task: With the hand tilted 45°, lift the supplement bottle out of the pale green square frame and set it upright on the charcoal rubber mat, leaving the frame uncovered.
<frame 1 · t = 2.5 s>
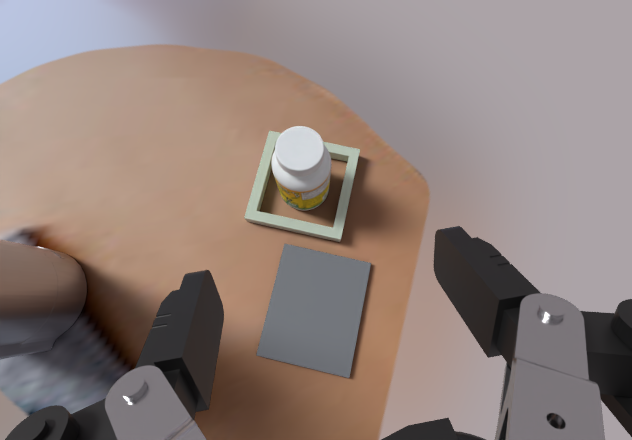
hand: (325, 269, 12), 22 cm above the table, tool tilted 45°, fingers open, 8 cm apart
supplement bottle: (304, 188, 37), resting in pale green square frame
pale green square frame: (304, 187, 36), on the table
mat: (315, 307, 33), on the table
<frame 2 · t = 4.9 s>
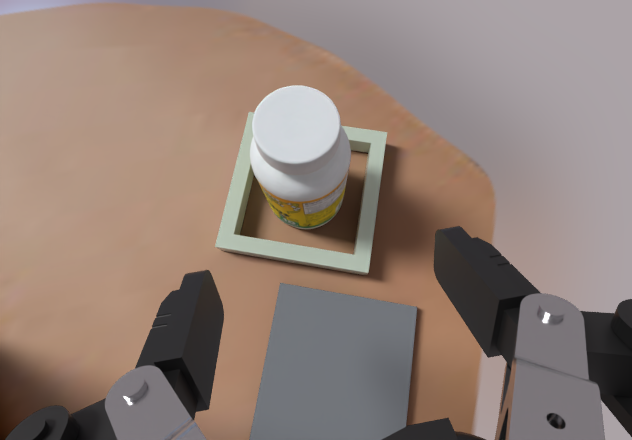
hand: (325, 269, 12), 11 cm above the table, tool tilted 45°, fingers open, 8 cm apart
supplement bottle: (305, 195, 24), resting in pale green square frame
pale green square frame: (305, 194, 24), on the table
mat: (334, 383, 21), on the table
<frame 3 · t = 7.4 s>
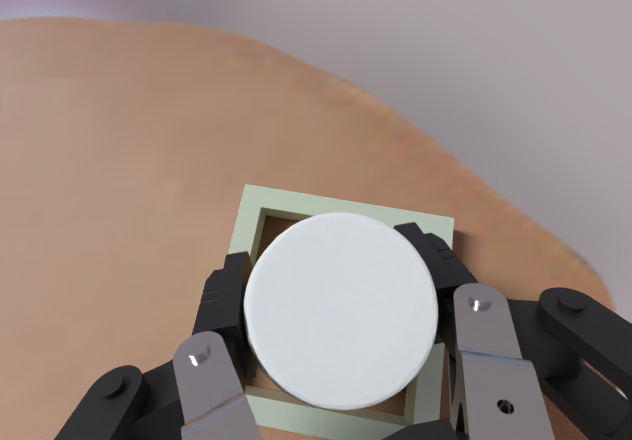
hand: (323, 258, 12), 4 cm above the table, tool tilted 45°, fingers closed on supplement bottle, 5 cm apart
supplement bottle: (329, 308, 16), resting in pale green square frame, touching gripper
pale green square frame: (329, 308, 16), on the table
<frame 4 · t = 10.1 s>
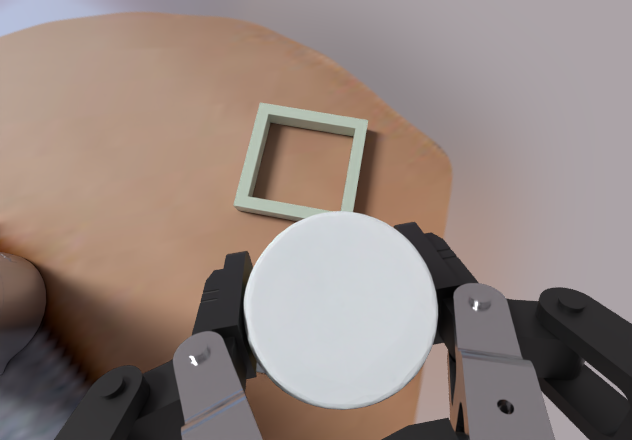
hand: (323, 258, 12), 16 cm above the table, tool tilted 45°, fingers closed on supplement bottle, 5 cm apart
supplement bottle: (329, 307, 16), point 12 cm above the table, touching gripper
pale green square frame: (303, 168, 31), on the table
when the fingers open (6 cm above the table, at t = 13.0 s): supplement bottle drops 1 cm, resting on mat.
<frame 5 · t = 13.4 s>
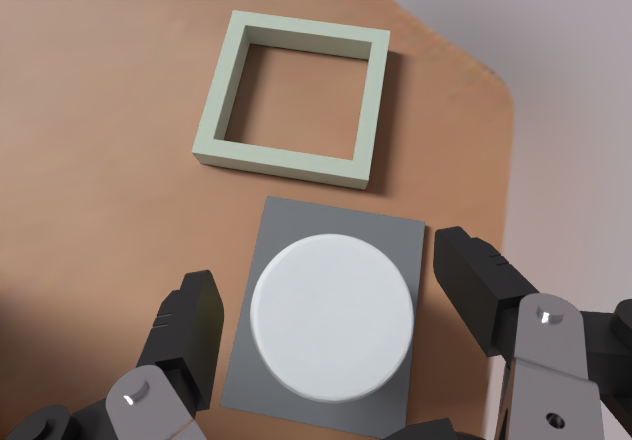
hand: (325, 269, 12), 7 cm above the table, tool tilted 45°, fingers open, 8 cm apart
supplement bottle: (328, 312, 18), resting on mat
pale green square frame: (297, 103, 21), on the table
mat: (328, 308, 18), on the table
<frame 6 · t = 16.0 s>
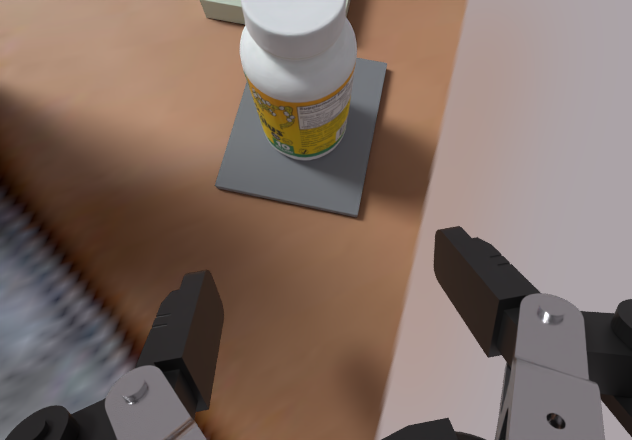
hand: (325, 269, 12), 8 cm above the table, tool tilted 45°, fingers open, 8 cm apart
supplement bottle: (304, 125, 22), resting on mat
mat: (305, 125, 22), on the table
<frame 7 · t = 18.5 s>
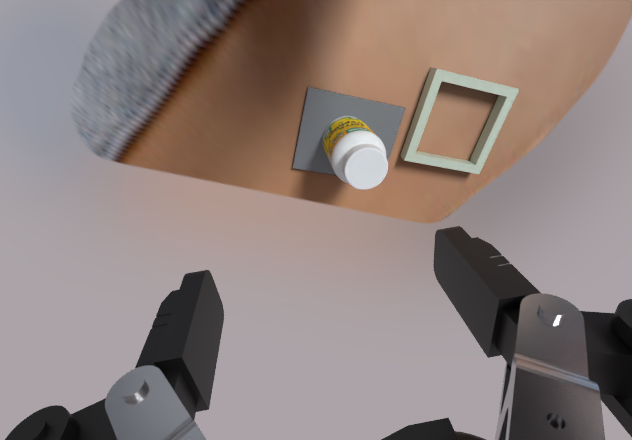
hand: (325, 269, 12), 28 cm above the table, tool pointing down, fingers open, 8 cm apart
supplement bottle: (345, 138, 38), resting on mat
pale green square frame: (453, 122, 39), on the table
mat: (346, 137, 38), on the table
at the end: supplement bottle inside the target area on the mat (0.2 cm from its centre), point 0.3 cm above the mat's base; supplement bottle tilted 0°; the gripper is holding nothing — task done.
